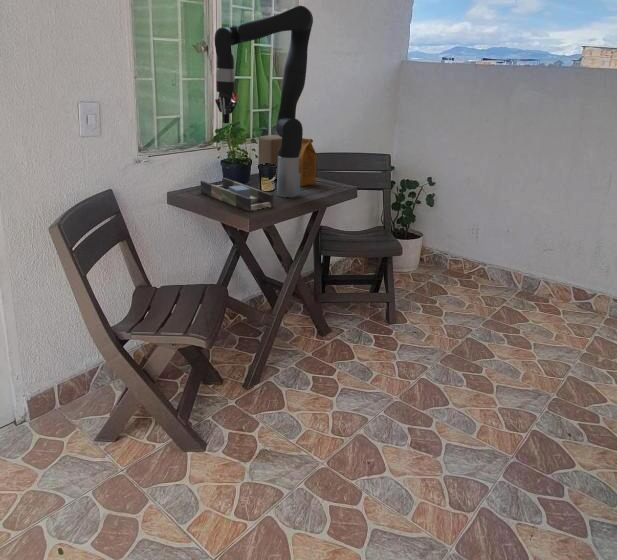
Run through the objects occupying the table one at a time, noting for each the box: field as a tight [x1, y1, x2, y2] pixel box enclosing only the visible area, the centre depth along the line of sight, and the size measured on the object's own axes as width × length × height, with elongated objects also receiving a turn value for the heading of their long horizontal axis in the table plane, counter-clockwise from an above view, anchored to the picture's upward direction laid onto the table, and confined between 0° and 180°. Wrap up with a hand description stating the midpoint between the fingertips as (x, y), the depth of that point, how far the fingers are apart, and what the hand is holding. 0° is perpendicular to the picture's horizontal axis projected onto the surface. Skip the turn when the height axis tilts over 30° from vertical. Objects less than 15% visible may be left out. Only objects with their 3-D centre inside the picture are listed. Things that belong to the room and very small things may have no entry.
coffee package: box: [299, 137, 317, 187], centre depth 262 cm, size 10×12×22 cm
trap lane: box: [200, 177, 274, 212], centre depth 234 cm, size 12×35×5 cm, turn 42°
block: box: [257, 134, 282, 179], centre depth 271 cm, size 10×10×20 cm
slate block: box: [229, 185, 250, 198], centre depth 230 cm, size 6×7×4 cm
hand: (226, 123), depth 238 cm, fingers closed
